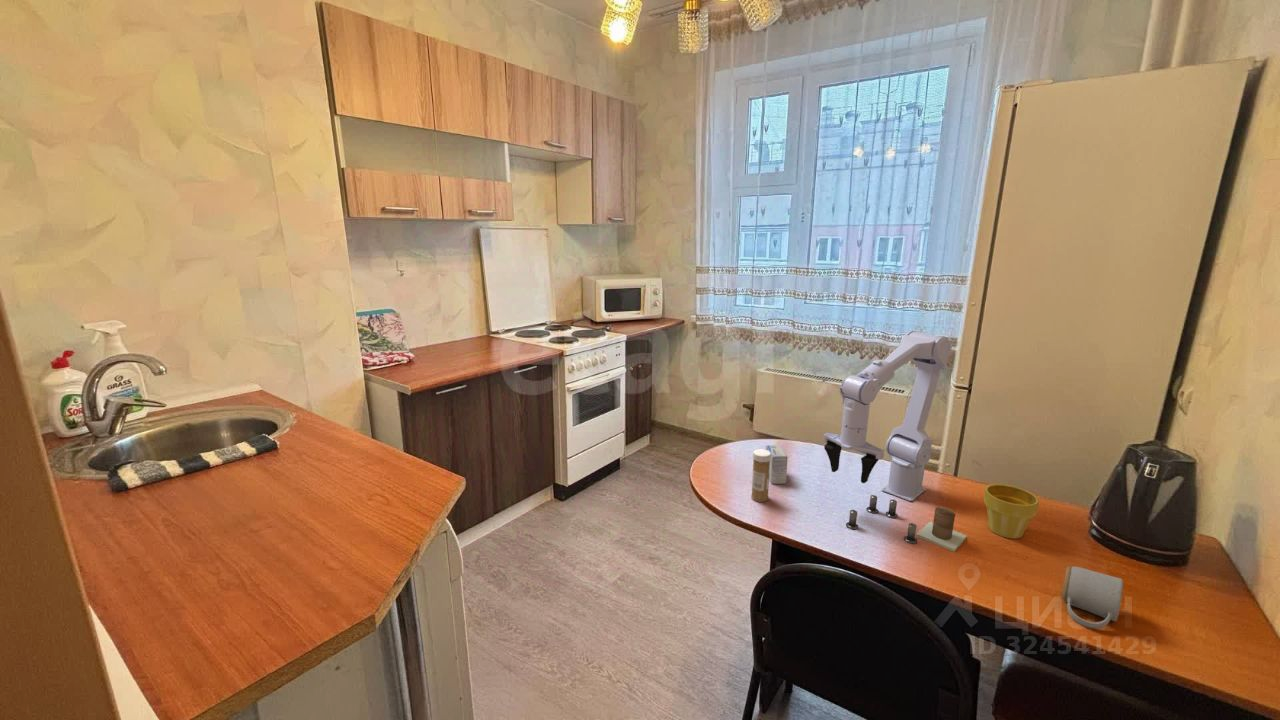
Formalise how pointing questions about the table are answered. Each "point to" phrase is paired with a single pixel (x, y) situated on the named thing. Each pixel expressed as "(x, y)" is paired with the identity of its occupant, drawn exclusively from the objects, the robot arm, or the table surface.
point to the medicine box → (777, 464)
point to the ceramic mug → (1092, 595)
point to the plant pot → (1009, 509)
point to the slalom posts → (891, 514)
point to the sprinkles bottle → (760, 475)
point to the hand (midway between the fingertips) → (849, 476)
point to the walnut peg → (943, 523)
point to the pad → (948, 544)
